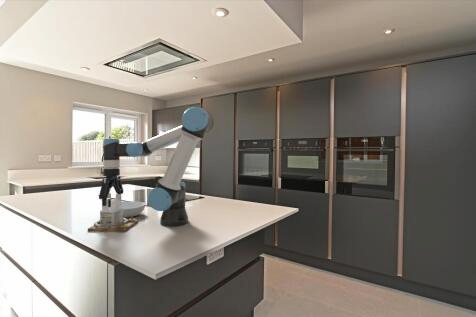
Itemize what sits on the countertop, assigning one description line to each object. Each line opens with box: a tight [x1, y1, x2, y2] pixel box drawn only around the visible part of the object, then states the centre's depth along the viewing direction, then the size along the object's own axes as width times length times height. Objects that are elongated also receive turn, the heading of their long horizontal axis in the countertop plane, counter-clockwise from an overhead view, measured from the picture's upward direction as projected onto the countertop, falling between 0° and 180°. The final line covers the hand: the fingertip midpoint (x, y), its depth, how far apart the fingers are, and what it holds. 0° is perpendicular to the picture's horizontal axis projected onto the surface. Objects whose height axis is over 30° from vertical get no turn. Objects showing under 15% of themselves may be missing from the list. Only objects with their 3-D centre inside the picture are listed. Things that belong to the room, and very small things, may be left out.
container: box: [99, 197, 123, 225], centre depth 126 cm, size 8×8×13 cm
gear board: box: [87, 216, 139, 233], centre depth 126 cm, size 18×16×4 cm
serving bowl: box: [118, 200, 146, 219], centre depth 147 cm, size 21×21×7 cm
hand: (112, 208), depth 126 cm, fingers open, 13 cm apart
